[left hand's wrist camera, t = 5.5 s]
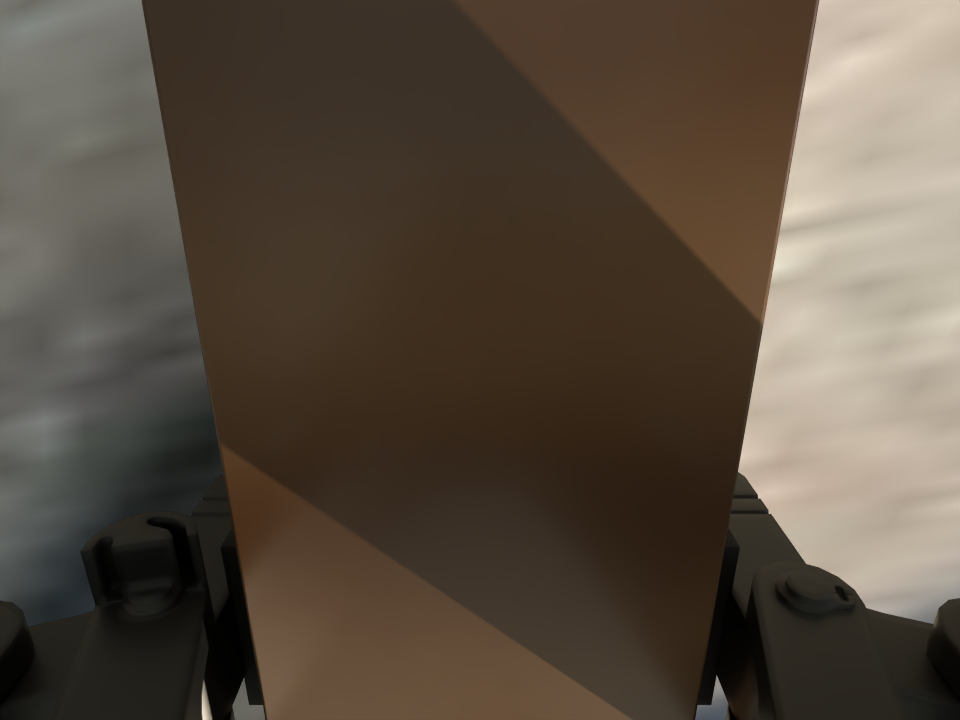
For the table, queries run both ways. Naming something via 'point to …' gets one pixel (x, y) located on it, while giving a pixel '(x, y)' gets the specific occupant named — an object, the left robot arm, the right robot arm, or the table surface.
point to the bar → (480, 333)
